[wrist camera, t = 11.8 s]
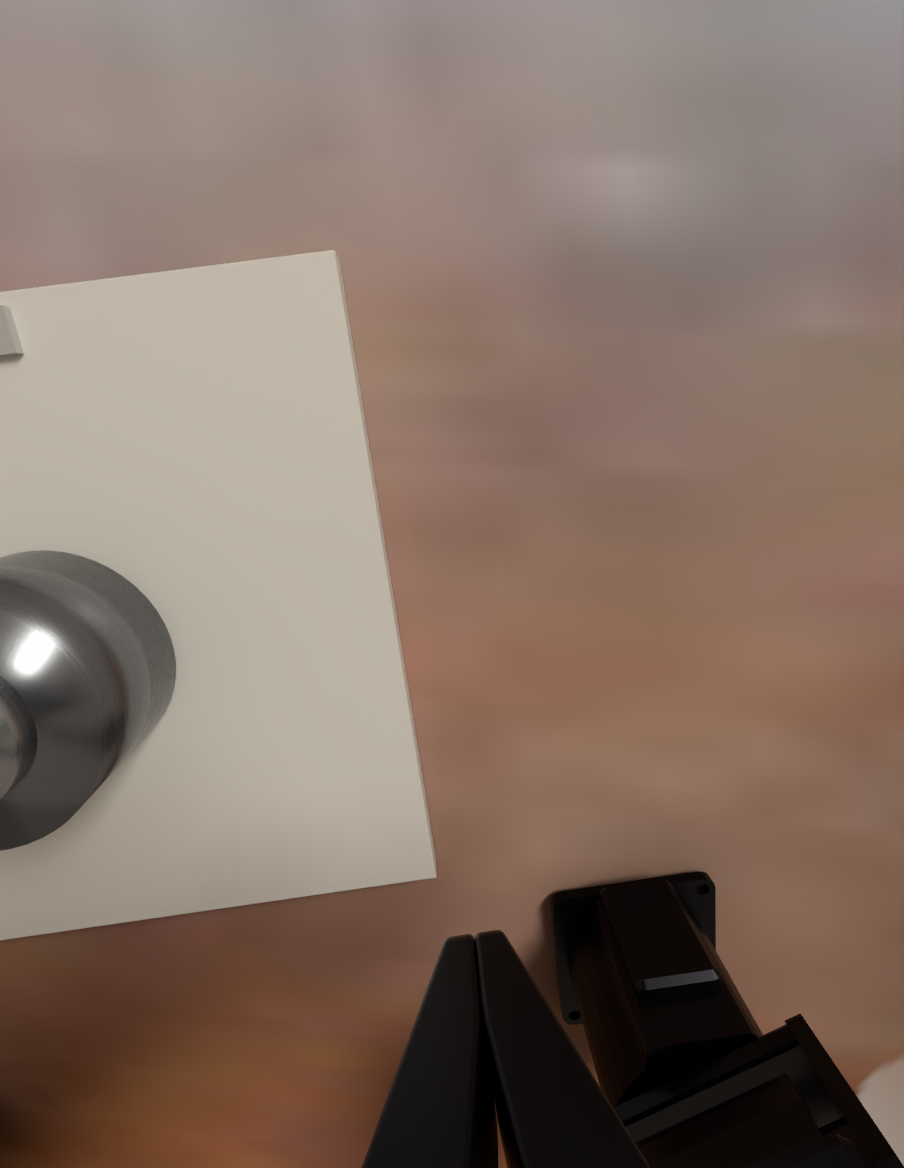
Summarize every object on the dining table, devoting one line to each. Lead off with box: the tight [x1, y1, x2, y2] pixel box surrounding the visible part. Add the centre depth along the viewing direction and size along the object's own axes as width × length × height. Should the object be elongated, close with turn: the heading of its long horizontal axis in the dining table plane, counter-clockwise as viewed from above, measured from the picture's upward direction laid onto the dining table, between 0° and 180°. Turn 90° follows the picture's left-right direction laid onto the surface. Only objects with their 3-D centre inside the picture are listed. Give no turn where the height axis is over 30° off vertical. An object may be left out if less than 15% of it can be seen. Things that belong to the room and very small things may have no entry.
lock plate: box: [0, 250, 436, 940], centre depth 19 cm, size 21×21×1 cm
